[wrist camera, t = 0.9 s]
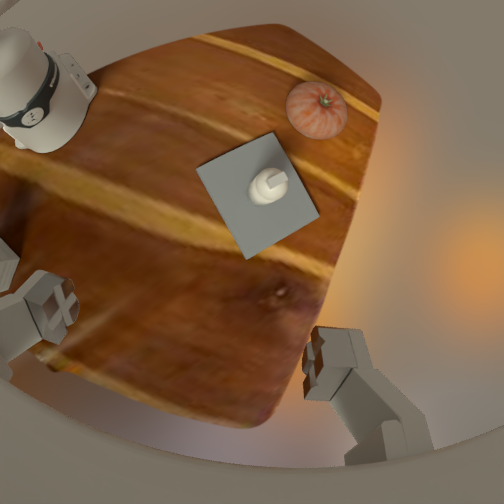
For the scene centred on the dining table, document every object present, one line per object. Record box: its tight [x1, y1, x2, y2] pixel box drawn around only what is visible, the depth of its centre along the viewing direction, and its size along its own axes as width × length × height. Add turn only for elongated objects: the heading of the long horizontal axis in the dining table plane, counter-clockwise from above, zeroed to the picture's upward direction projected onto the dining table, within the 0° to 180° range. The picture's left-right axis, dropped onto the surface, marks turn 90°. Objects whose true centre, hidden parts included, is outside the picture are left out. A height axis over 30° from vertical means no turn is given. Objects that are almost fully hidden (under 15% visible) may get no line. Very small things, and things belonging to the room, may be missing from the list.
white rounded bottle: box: [246, 168, 288, 206], centre depth 38 cm, size 4×4×10 cm
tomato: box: [286, 81, 348, 139], centre depth 41 cm, size 11×11×8 cm
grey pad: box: [196, 132, 320, 260], centre depth 43 cm, size 16×14×1 cm
